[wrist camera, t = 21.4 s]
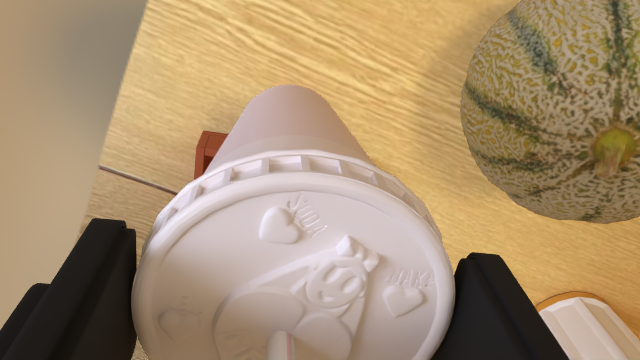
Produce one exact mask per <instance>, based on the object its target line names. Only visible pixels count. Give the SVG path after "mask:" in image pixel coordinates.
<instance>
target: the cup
mask: <svg viewBox="0 0 640 360" xmlns="http://www.w3.org/2000/svg"><path fill="white" fill-rule="evenodd" d="M535 308H536V310H537V311H538V313H539V314H540V316H541V317H542V319H543V320H544V322H545V323H546V325H547V326H548V328H549V329H550V331H551V332H552V334H553V335H554V337H555V338H556V340H557V341H558V343H559V344H560V346H561V347H562V349H563V350H564V352H565V353H566V355H567V356H568V358H569V359H570V360H640V340H639V339H638V338H637V337H636V335H635V334H634V333H633V332H632V331H631V330H630V329H629V328H628V327H627V325H626V324H625V323H624V322H623V321H622V320H621V319H620V318H619V317H618V316H617V314H616V313H615V312H614V311H613V310H612V309H611V308H610V307H609V306H608V305H607V304H606V302H605V301H604V300H603V299H601V298H599V297H597V296H595V295H593V294H590V293H584V292H569V293H564V294H561V295H557V296H554V297H552V298H550V299H548V300H546V301H544V302H542V303H540V304H538V305H537V306H536V307H535Z"/></svg>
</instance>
